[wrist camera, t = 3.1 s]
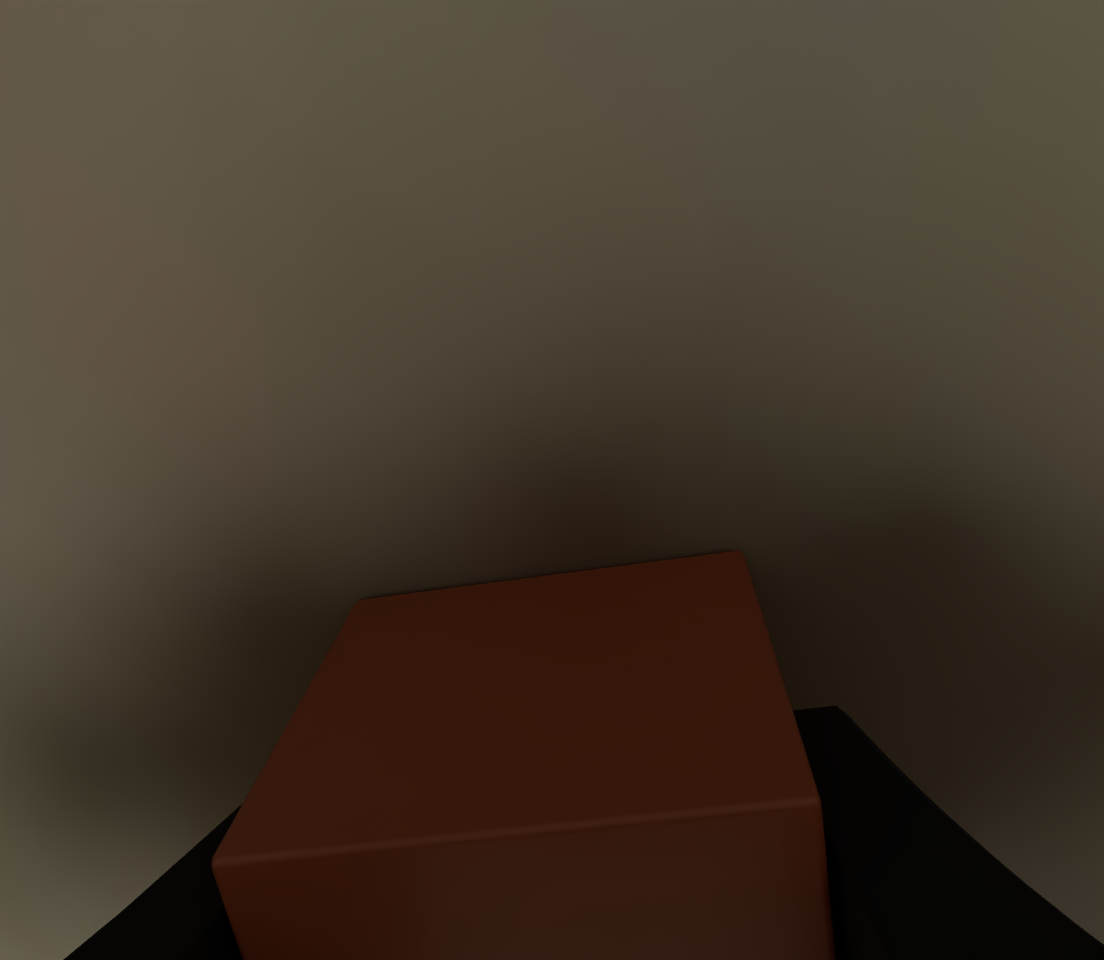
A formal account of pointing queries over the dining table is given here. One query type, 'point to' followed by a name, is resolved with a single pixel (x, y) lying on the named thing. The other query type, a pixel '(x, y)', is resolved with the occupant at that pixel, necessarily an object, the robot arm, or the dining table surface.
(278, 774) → the terracotta block
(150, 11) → the dining table surface
